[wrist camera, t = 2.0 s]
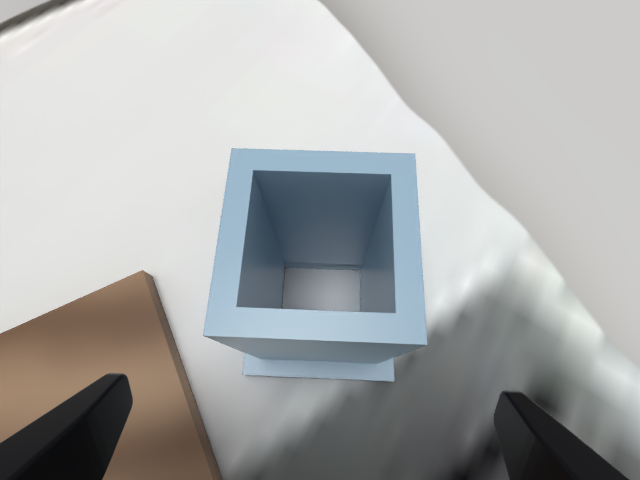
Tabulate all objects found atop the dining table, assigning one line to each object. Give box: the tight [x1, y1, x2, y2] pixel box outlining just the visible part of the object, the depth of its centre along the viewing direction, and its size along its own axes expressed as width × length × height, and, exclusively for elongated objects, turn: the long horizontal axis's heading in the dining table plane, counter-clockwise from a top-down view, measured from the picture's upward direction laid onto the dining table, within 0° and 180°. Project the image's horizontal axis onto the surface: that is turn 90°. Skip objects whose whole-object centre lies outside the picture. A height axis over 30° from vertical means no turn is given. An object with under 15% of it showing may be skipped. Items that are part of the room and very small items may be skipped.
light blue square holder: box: [203, 148, 427, 381], centre depth 16 cm, size 8×8×10 cm
